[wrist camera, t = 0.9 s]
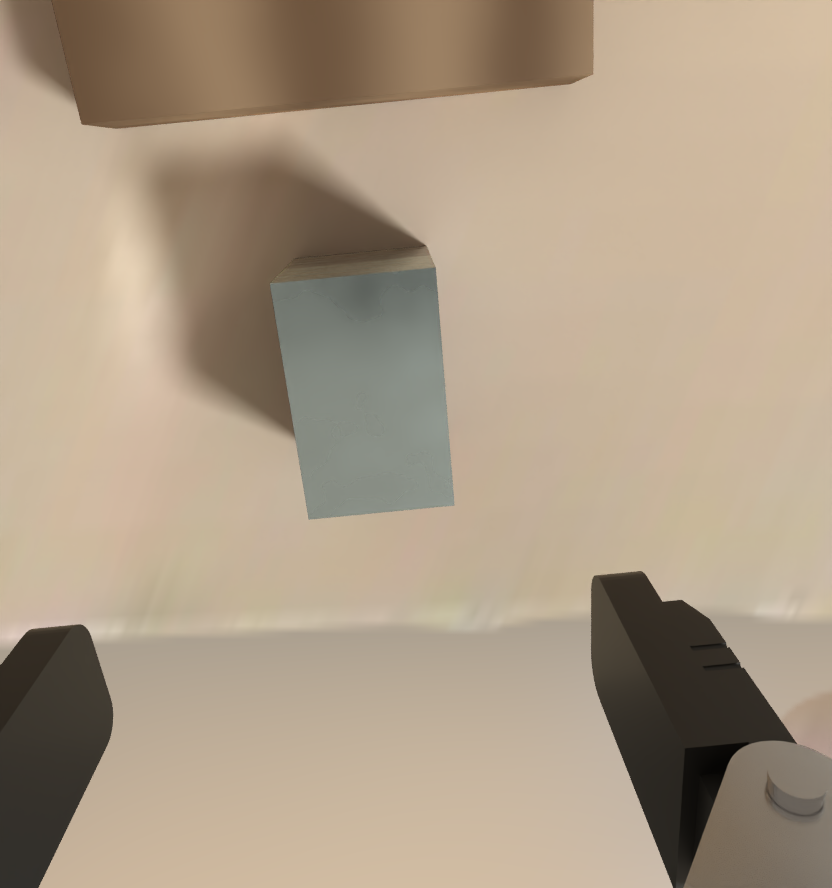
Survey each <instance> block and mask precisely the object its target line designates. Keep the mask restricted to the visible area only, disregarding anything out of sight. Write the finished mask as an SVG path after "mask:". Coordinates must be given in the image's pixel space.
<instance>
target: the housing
mask: <svg viewBox="0 0 832 888" xmlns="http://www.w3.org/2000/svg"><path fill="white" fill-rule="evenodd" d="M270 288H271V294H272V300H273V306H274V312H275V319H276V325H277V331H278V337H279V343H280V349H281V355H282V361H283V367H284V373H285V379H286V385H287V391H288V397H289V403H290V409H291V415H292V421H293V427H294V433H295V439H296V445H297V451H298V457H299V463H300V469H301V475H302V481H303V488H304V494H305V500H306V506H307V512H308V518H309V519H319V518H330V517H340V516H350V515H361V514H371V513H381V512H392V511H402V510H412V509H423V508H433V507H443V506H453V505H454V494H453V481H452V469H451V456H450V443H449V431H448V418H447V405H446V393H445V380H444V368H443V355H442V342H441V330H440V317H439V304H438V292H437V279H436V267H435V265H434V263H433V260H432V258H431V256H430V253H429V251H428V249H427V246H419V247H409V248H399V249H389V250H378V251H368V252H358V253H348V254H338V255H327V256H317V257H307V258H297V259H294V260H293V261H292V262H291V263H290V264H289V265H288V266H287V267H286V268H285V269H284V270H283V271H282V272H281V273H280V274H279V275H278V276H277V277H276V278H275V279H274V280H273V281H272V282H271V283H270Z"/></svg>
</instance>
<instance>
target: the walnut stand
mask: <svg viewBox="0 0 832 888" xmlns="http://www.w3.org/2000/svg"><path fill="white" fill-rule="evenodd" d="M52 4H53V9H54V13H55V17H56V21H57V25H58V29H59V33H60V37H61V42H62V46H63V50H64V54H65V58H66V62H67V66H68V70H69V74H70V79H71V83H72V87H73V91H74V95H75V99H76V103H77V107H78V111H79V116H80V120H81V124H83V125H91V126H99V127H107V128H115V129H117V128H127V127H138V126H148V125H158V124H168V123H178V122H189V121H199V120H209V119H219V118H229V117H239V116H250V115H260V114H270V113H280V112H290V111H301V110H311V109H321V108H331V107H341V106H351V105H362V104H372V103H382V102H392V101H402V100H413V99H423V98H433V97H443V96H453V95H463V94H474V93H484V92H494V91H504V90H514V89H524V88H535V87H545V86H555V85H565V84H572V83H574V82H576V81H579V80H581V79H583V78H585V77H588V76H590V75H592V74H593V0H52Z"/></svg>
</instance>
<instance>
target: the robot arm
mask: <svg viewBox="0 0 832 888" xmlns="http://www.w3.org/2000/svg"><path fill="white" fill-rule="evenodd" d="M591 659H592V669H593V675H594V681H595V686H596V690H597V693H598V696H599V699H600V702H601V704H602V707H603V709H604V712H605V714H606V717H607V720H608V722H609V725H610V727H611V730H612V732H613V735H614V737H615V740H616V743H617V745H618V748H619V750H620V753H621V755H622V758H623V760H624V763H625V766H626V768H627V771H628V773H629V776H630V778H631V781H632V783H633V786H634V789H635V791H636V794H637V796H638V798H639V801H640V804H641V806H642V809H643V812H644V814H645V817H646V819H647V822H648V824H649V827H650V829H651V832H652V834H653V837H654V839H655V842H656V845H657V847H658V850H659V852H660V855H661V857H662V860H663V863H664V865H665V868H666V870H667V873H668V875H669V878H670V880H671V883H672V886H673V888H832V759H831V758H829V757H828V756H826V755H824V754H822V753H820V752H818V751H816V750H813V749H811V748H808V747H806V746H802V745H799V744H797V743H796V742H795V740H794V739H793V737H792V736H791V734H790V733H789V732H788V730H787V729H786V727H785V726H784V724H783V723H782V722H781V720H780V719H779V717H778V716H777V715H776V713H775V712H774V710H773V709H772V707H771V706H770V705H769V703H768V702H767V700H766V699H765V697H764V696H763V695H762V693H761V692H760V690H759V689H758V688H757V686H756V685H755V683H754V682H753V681H752V679H751V678H750V676H749V675H748V673H747V672H746V670H745V669H744V668H741V666H740V662H739V660H738V659H737V657H736V656H735V655H734V653H733V652H732V650H731V649H730V648H727V646H726V642H725V640H724V639H723V638H722V636H721V635H720V633H719V632H718V630H717V629H716V628H715V626H714V625H713V623H712V622H711V621H710V619H709V618H707V617H706V616H704V615H703V614H702V613H700V612H699V611H697V610H696V609H694V608H693V607H691V606H690V605H688V604H687V603H685V602H684V601H683V600H677V601H666V602H662V600H661V599H660V597H659V596H658V594H657V592H656V591H655V589H654V588H653V586H652V584H651V583H650V581H649V580H648V578H647V576H646V575H645V574H644V573H643V572H642V571H638V572H628V573H617V574H607V575H597V576H594V577H593V580H592V587H591ZM112 725H113V707H112V702H111V698H110V695H109V692H108V688H107V686H106V682H105V679H104V676H103V673H102V670H101V667H100V663H99V660H98V657H97V654H96V651H95V647H94V644H93V641H92V638H91V635H90V633H89V631H88V630H87V628H86V627H85V626H83V625H69V626H58V627H48V628H38V629H31V630H29V631H28V632H26V633H25V635H24V636H23V637H22V638H21V640H20V641H19V642H18V643H17V645H16V646H15V647H14V649H13V650H12V651H11V653H10V654H9V655H8V656H7V658H6V659H5V660H4V662H3V663H2V664H1V665H0V888H38V887H39V885H40V883H41V881H42V879H43V877H44V875H45V873H46V871H47V869H48V867H49V865H50V863H51V860H52V858H53V856H54V854H55V852H56V850H57V848H58V846H59V844H60V842H61V840H62V838H63V836H64V833H65V831H66V829H67V827H68V825H69V823H70V821H71V819H72V817H73V815H74V813H75V811H76V809H77V807H78V805H79V802H80V800H81V798H82V796H83V794H84V792H85V790H86V788H87V786H88V784H89V782H90V780H91V778H92V775H93V774H94V772H95V770H96V767H97V765H98V763H99V761H100V759H101V757H102V755H103V753H104V751H105V749H106V747H107V744H108V742H109V739H110V736H111V731H112Z"/></svg>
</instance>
